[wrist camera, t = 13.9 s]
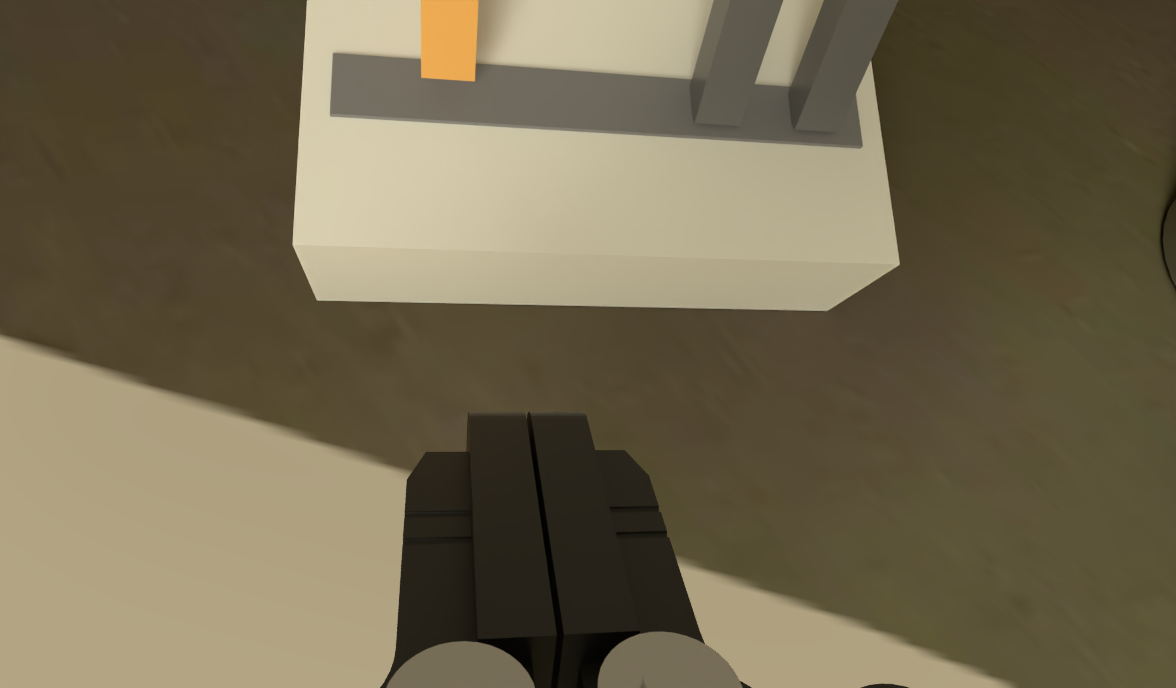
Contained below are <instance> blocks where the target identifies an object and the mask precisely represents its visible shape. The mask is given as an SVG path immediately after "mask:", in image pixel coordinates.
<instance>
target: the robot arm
mask: <svg viewBox="0 0 1176 688" xmlns="http://www.w3.org/2000/svg"><path fill="white" fill-rule="evenodd" d="M1163 247H1164V254H1165V260H1166V263H1167V266H1168V269H1169V272H1170V276H1171V278H1172V280H1173V282H1174V284H1175V286H1176V199H1175V200H1174V202H1173V203H1172V205H1171V207H1170V208H1169V210H1168V213H1167V216H1166V220H1165V223H1164V231H1163ZM380 688H751V687H750V686H748V685H746V684H744V683H743V682H741V681H739V679H738V677H737V675H736V674H735V672H734V670H733V669H732V668H731V667H730V665H729V664H728V663H727V662H726V661H725V660H724V659H723V658H722V657H721V656H720V655H719V654H718V653H717V652H716V651H714V650H713V649H711V648H710V647H709V646H707V645H705V643H704V641H703V639H702V636H701V633H700V631H699V628H698V625H697V621H696V619H695V616H694V612H693V609H692V606H691V603H690V600H689V597H688V594H687V591H686V588H685V585H684V582H683V579H682V576H681V573H680V570H679V566H678V563H677V560H676V557H675V554H674V551H673V548H672V545H671V542H670V539H669V537H667V530H666V527H665V524H664V521H663V518H662V514H661V512H659V505H658V502H657V499H656V496H655V493H654V490H653V487H652V484H651V481H650V478H649V475H648V474H647V473H646V472H645V471H644V470H643V469H642V468H641V467H640V466H639V465H638V464H637V463H636V462H635V461H634V460H633V458H632V457H631V456H630V455H629V454H628V453H627V452H626V451H625V450H595V448H594V444H593V440H592V436H591V432H590V428H589V424H588V420H587V417H586V414H585V413H584V412H528V415H527V420H526V415H525V412H468V421H467V446H466V452H426V453H425V454H424V456H423V457H422V459H421V460H420V461H419V463H418V464H417V466H416V467H415V469H414V470H413V472H412V473H411V474H410V476H409V477H408V479H407V487H406V503H405V518H404V532H403V548H402V563H401V579H400V595H399V609H398V626H397V640H396V651H395V657H394V662H393V664H392V667H391V670H390V672H389V674H388V676H387V678H386V680H385V682H384V683H383V685H382V686H381V687H380ZM862 688H908V687H904V686H899V685H894V684H874V685H868V686H865V687H862Z"/></svg>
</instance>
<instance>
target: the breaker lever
mask: <svg viewBox="0 0 1176 688" xmlns="http://www.w3.org/2000/svg"><path fill="white" fill-rule="evenodd" d="M478 1H479V0H421V78H431V79H446V80H460V81H474V82H475V67H476V45H477V23H478Z"/></svg>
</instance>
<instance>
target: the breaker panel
mask: <svg viewBox="0 0 1176 688" xmlns="http://www.w3.org/2000/svg"><path fill="white" fill-rule="evenodd" d="M897 2H898V0H479V1H478V23H477V45H476V67H475V82H474V81H460V80H446V79H431V78H421V0H307V13H306V29H305V46H304V63H303V79H302V96H301V113H300V130H299V146H298V163H297V180H296V197H295V213H294V230H293V247H294V249H295V251H296V254H297V256H298V258H299V260H300V263H301V265H302V267H303V269H304V272H305V274H306V276H307V279H308V281H309V283H310V285H311V288H312V290H313V292H314V294H315V297H316V299H317V300H321V301H369V302H418V303H467V304H515V305H564V306H613V307H662V308H710V309H759V310H808V311H828V310H829V309H831V308H833V307H834V306H836V305H837V304H839V303H840V302H842V301H844V300H845V299H847V298H848V297H850V296H851V295H853V294H854V293H856V292H858V291H859V290H861V289H862V288H864V287H865V286H867V285H869V284H870V283H872V282H873V281H875V280H876V279H878V278H879V277H881V276H883V275H884V274H886V273H887V272H889V271H890V270H892V269H893V268H895V267H897V266H898V265H900V262H899V255H898V248H897V241H896V234H895V227H894V220H893V213H892V206H891V199H890V191H889V184H888V177H887V170H886V163H885V156H884V149H883V142H882V135H881V128H880V121H879V114H878V107H877V99H876V92H875V85H874V78H873V71H872V64H871V59H872V57H873V55H874V53H875V50H876V48H877V46H878V44H879V42H880V39H881V37H882V35H883V33H884V31H885V28H886V26H887V24H888V22H889V20H890V17H891V15H892V13H893V11H894V9H895V6H896V4H897Z"/></svg>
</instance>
